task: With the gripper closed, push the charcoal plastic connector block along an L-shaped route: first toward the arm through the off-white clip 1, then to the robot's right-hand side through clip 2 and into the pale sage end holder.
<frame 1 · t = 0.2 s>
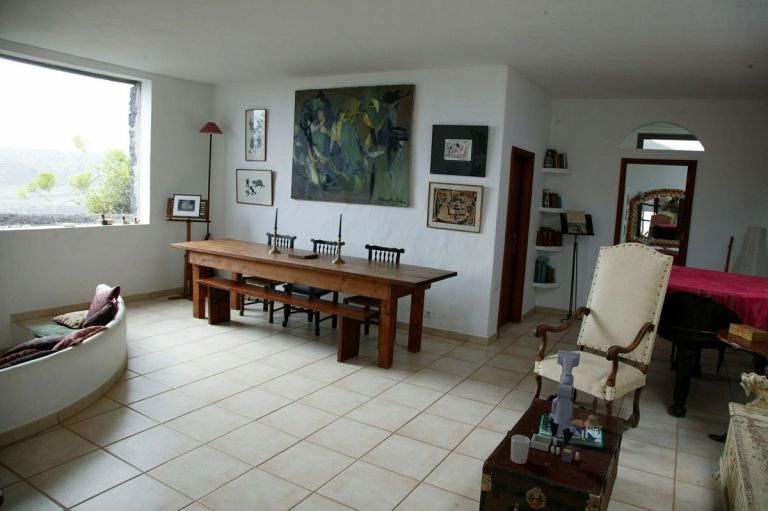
hand: (559, 440, 232), 10 cm above the table, fingers open, 7 cm apart
clip 1: (567, 456, 238), on the table
white cup: (518, 460, 233), on the table
end holder: (541, 445, 247), on the table
hand bell: (591, 427, 270), on the table
connector block: (566, 459, 236), on the table
clip 2: (553, 448, 244), on the table
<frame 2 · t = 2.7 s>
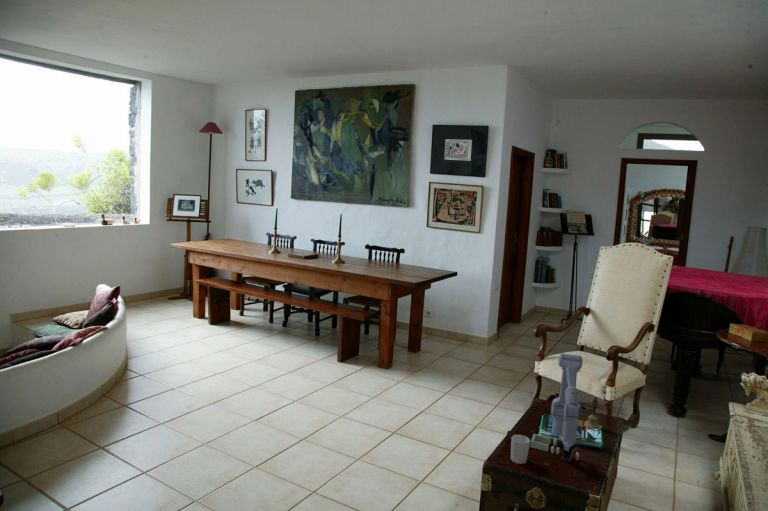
hand: (566, 458, 234), 1 cm above the table, fingers closed
connector block: (566, 458, 237), on the table, touching gripper
everything else where it was.
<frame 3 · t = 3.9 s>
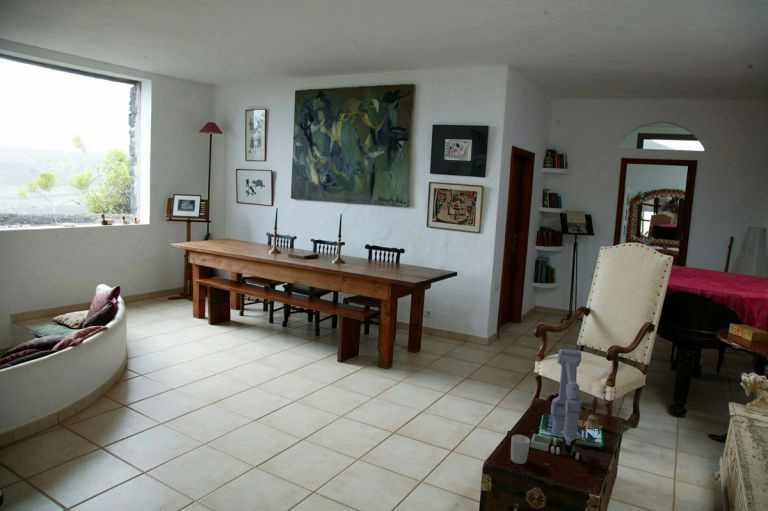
hand: (567, 452, 239), 1 cm above the table, fingers closed
connector block: (568, 452, 242), on the table, touching gripper
everything else where it was.
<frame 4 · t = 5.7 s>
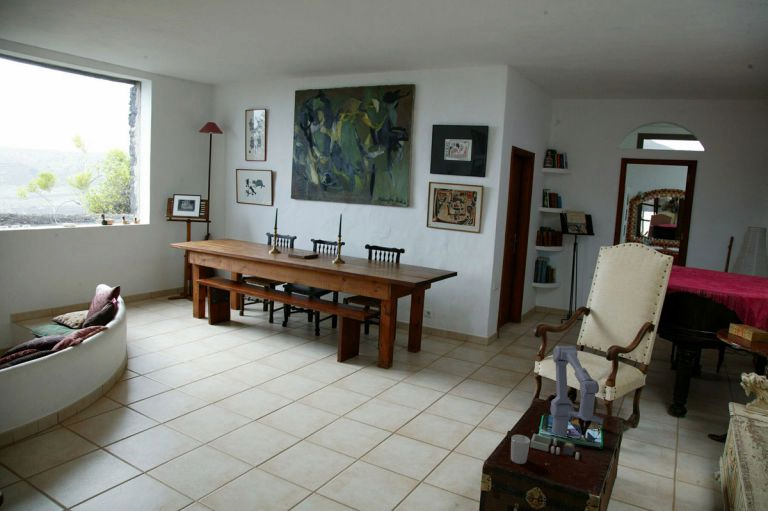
hand: (583, 434, 238), 10 cm above the table, fingers closed
connector block: (568, 452, 242), on the table
everything else where it was.
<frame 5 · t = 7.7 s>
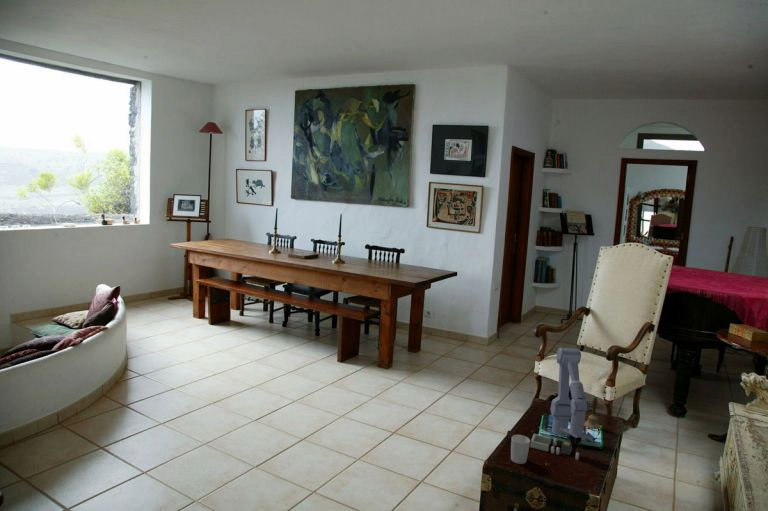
hand: (573, 451, 241), 1 cm above the table, fingers closed
connector block: (565, 452, 242), on the table, touching gripper
everything else where it was.
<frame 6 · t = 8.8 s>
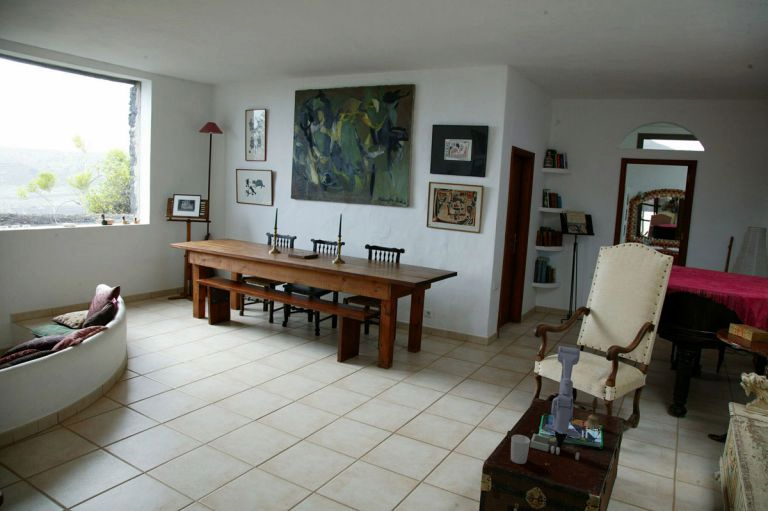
hand: (559, 447, 243), 1 cm above the table, fingers closed
connector block: (551, 448, 245), on the table, touching gripper
everything else where it was.
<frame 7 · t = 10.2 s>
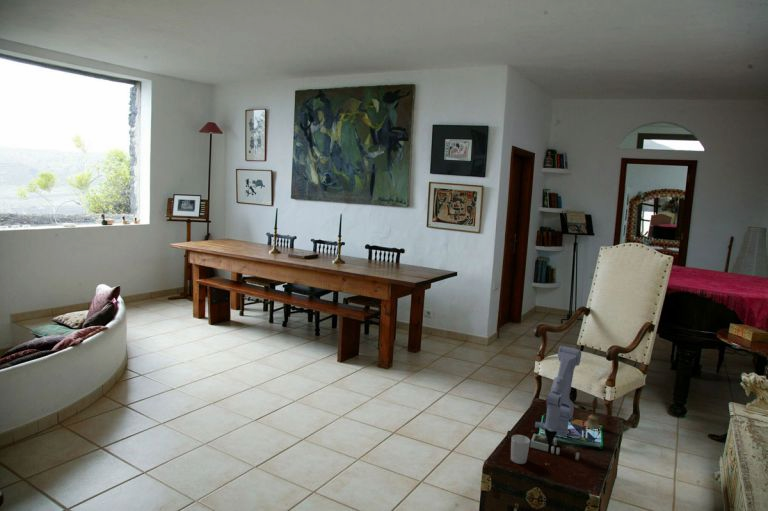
hand: (549, 444, 245), 1 cm above the table, fingers closed
connector block: (542, 445, 247), on the table, touching gripper
everything else where it was.
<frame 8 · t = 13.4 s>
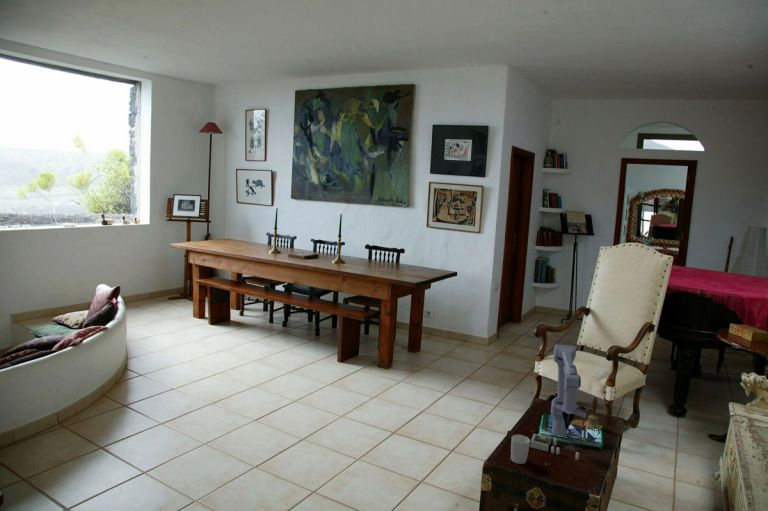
hand: (567, 428, 243), 10 cm above the table, fingers closed
connector block: (541, 446, 247), on the table
everything else where it was.
at the end: connector block 0.3 cm off-centre on the end holder, point 0.0 cm above the end holder's base; connector block moved 13.5 cm from its start; connector block tilted 0° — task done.
